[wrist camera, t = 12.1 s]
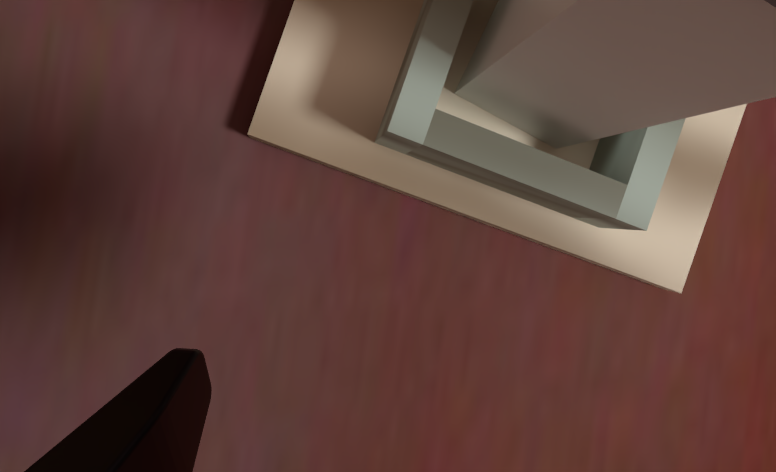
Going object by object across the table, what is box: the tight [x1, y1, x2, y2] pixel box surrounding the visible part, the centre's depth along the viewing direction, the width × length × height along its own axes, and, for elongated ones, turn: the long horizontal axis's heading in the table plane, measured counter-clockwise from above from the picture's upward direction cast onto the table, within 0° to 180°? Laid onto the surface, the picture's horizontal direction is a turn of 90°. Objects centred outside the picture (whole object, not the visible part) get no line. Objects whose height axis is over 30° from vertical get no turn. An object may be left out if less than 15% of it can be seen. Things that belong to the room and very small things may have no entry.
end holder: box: [248, 0, 746, 293], centre depth 20 cm, size 12×18×4 cm, turn 70°
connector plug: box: [454, 0, 776, 149], centre depth 14 cm, size 5×5×13 cm
